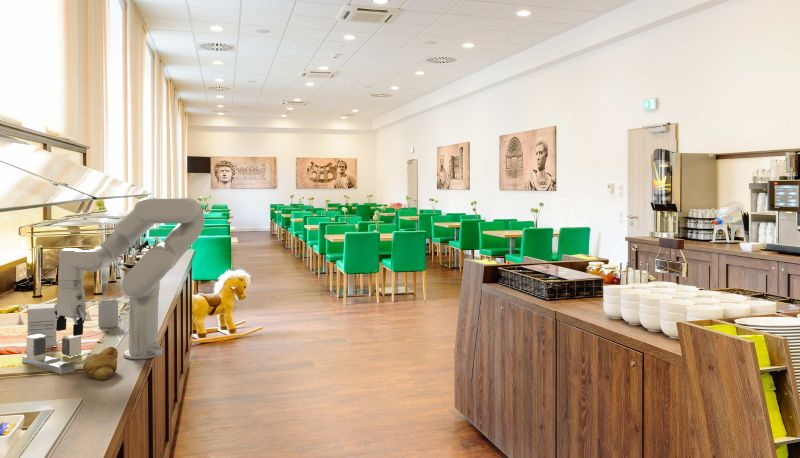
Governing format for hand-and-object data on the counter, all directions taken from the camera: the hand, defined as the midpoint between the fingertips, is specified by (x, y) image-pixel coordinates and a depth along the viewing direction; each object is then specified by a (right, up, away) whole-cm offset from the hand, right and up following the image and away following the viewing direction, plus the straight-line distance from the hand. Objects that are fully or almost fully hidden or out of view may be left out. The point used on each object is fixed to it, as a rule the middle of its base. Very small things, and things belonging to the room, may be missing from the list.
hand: (69, 332), depth 203 cm
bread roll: (+20, -11, -18) cm, 29 cm away
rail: (-1, -9, -11) cm, 14 cm away
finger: (+1, -8, +1) cm, 8 cm away
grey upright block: (-7, -5, +42) cm, 43 cm away
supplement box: (-16, -7, +11) cm, 21 cm away
